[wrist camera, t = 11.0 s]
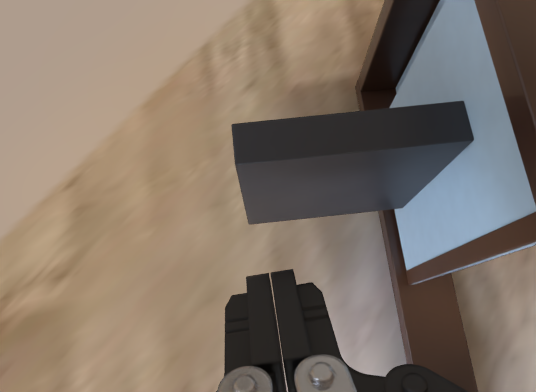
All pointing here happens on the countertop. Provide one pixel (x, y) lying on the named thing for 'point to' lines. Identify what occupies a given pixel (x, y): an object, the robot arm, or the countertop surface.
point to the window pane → (406, 158)
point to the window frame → (527, 137)
